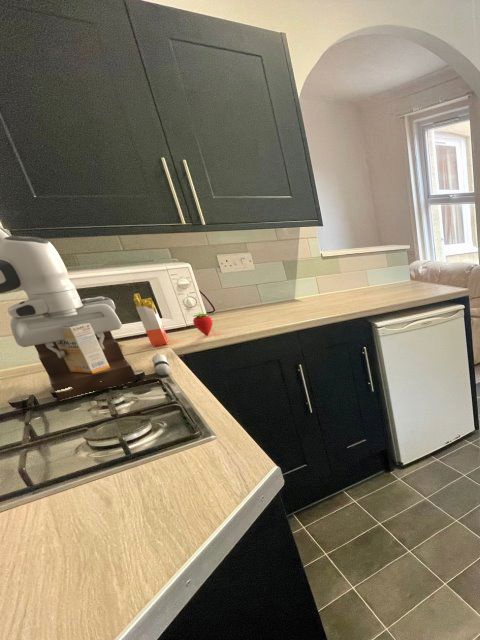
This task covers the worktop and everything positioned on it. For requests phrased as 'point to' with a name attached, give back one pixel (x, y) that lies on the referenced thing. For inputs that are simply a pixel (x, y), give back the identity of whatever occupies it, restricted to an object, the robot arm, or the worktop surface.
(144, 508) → the worktop surface
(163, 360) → the torpedo
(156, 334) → the french fries container
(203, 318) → the strawberry
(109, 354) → the step shelf
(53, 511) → the worktop surface
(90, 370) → the supplement box
